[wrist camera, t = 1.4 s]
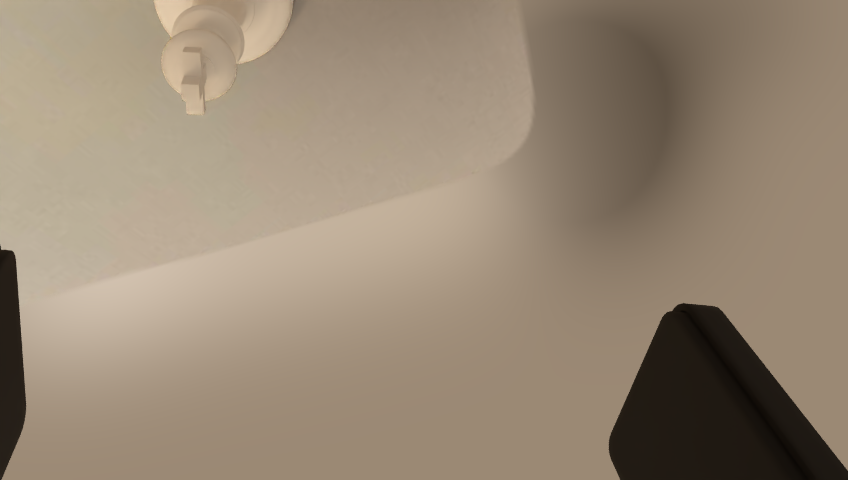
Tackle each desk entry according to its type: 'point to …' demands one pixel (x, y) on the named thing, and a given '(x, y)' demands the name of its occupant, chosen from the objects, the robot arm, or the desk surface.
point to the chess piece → (216, 42)
